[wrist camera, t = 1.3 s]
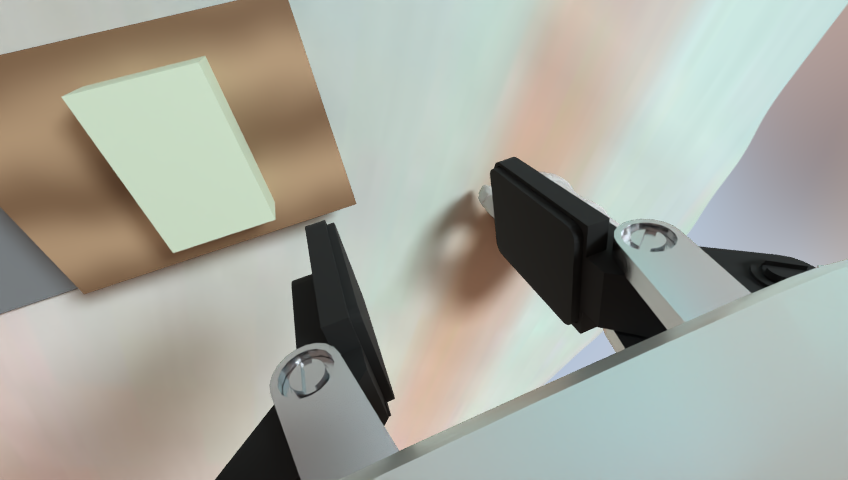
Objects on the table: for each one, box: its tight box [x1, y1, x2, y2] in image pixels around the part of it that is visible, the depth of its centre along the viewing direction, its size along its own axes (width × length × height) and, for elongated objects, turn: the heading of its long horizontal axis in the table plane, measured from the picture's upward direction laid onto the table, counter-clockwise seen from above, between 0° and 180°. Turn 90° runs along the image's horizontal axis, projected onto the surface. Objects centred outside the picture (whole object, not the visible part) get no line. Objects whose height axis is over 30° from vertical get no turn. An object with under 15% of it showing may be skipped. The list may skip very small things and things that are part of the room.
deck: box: [0, 0, 356, 294], centre depth 24 cm, size 13×18×4 cm
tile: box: [62, 56, 276, 253], centre depth 21 cm, size 9×6×2 cm, turn 12°
